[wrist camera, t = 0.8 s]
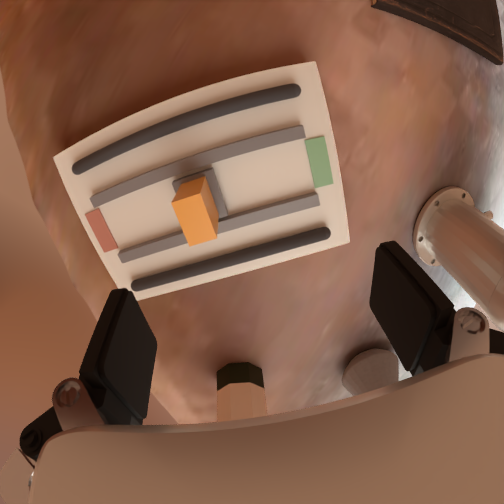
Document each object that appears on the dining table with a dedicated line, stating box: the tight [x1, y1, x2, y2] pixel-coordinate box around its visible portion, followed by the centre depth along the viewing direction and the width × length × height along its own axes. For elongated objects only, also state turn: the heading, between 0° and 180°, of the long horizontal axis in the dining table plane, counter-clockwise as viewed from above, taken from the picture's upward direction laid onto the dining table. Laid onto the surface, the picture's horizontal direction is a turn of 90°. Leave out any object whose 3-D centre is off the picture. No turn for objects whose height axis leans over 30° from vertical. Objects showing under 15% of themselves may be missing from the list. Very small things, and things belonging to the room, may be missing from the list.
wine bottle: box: [217, 362, 268, 422], centre depth 34 cm, size 8×8×30 cm
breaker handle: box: [171, 167, 228, 247], centre depth 25 cm, size 4×5×6 cm
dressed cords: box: [72, 83, 331, 292], centre depth 27 cm, size 23×16×1 cm
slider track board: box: [53, 61, 350, 300], centre depth 28 cm, size 28×20×4 cm
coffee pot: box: [342, 349, 399, 396], centre depth 42 cm, size 21×12×15 cm, turn 101°
